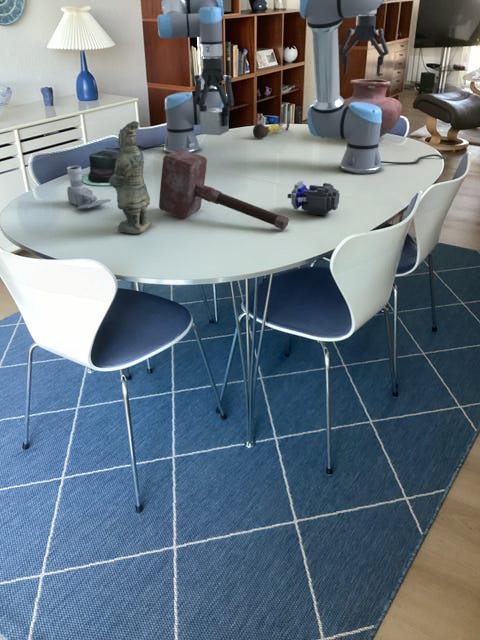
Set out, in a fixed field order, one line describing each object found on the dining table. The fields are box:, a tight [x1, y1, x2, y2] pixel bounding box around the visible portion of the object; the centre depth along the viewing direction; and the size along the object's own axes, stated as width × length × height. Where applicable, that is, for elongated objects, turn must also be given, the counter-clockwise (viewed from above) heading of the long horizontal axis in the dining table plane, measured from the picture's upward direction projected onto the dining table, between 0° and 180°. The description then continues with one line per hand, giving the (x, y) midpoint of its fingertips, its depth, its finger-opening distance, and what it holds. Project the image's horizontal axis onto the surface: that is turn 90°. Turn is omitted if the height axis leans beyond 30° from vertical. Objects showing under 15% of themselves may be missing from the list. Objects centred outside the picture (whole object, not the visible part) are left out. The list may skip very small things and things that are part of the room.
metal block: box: [200, 108, 230, 136], centre depth 206 cm, size 8×8×8 cm
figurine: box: [252, 119, 290, 139], centre depth 265 cm, size 13×8×25 cm
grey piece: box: [66, 165, 112, 210], centre depth 178 cm, size 9×12×15 cm
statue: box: [109, 120, 153, 235], centre depth 154 cm, size 11×9×30 cm
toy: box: [287, 180, 341, 216], centre depth 168 cm, size 9×9×15 cm
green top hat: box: [82, 150, 119, 186], centre depth 207 cm, size 15×19×20 cm
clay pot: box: [343, 78, 403, 138], centre depth 248 cm, size 30×30×25 cm
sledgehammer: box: [158, 149, 290, 231], centre depth 163 cm, size 17×10×40 cm
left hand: (214, 125), depth 206 cm, fingers closed on metal block, 8 cm apart
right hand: (361, 73), depth 231 cm, fingers open, 13 cm apart
